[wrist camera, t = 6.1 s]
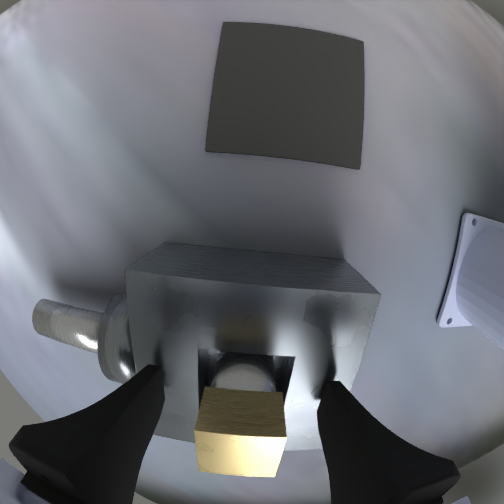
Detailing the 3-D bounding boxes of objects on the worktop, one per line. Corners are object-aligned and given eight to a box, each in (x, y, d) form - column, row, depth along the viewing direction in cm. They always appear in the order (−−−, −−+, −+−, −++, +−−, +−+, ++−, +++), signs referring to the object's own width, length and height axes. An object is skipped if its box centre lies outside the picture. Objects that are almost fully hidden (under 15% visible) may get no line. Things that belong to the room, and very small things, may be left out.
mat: (361, 44, 12) (363, 41, 11) (357, 169, 14) (360, 169, 13) (224, 25, 12) (223, 22, 11) (206, 151, 14) (205, 150, 13)
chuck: (345, 259, 15) (381, 295, 10) (311, 395, 17) (323, 450, 12) (57, 232, 15) (4, 250, 10) (77, 358, 17) (44, 396, 12)
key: (269, 371, 14) (274, 476, 8) (219, 367, 14) (198, 471, 8) (275, 328, 14) (286, 437, 7) (220, 324, 14) (194, 430, 7)
